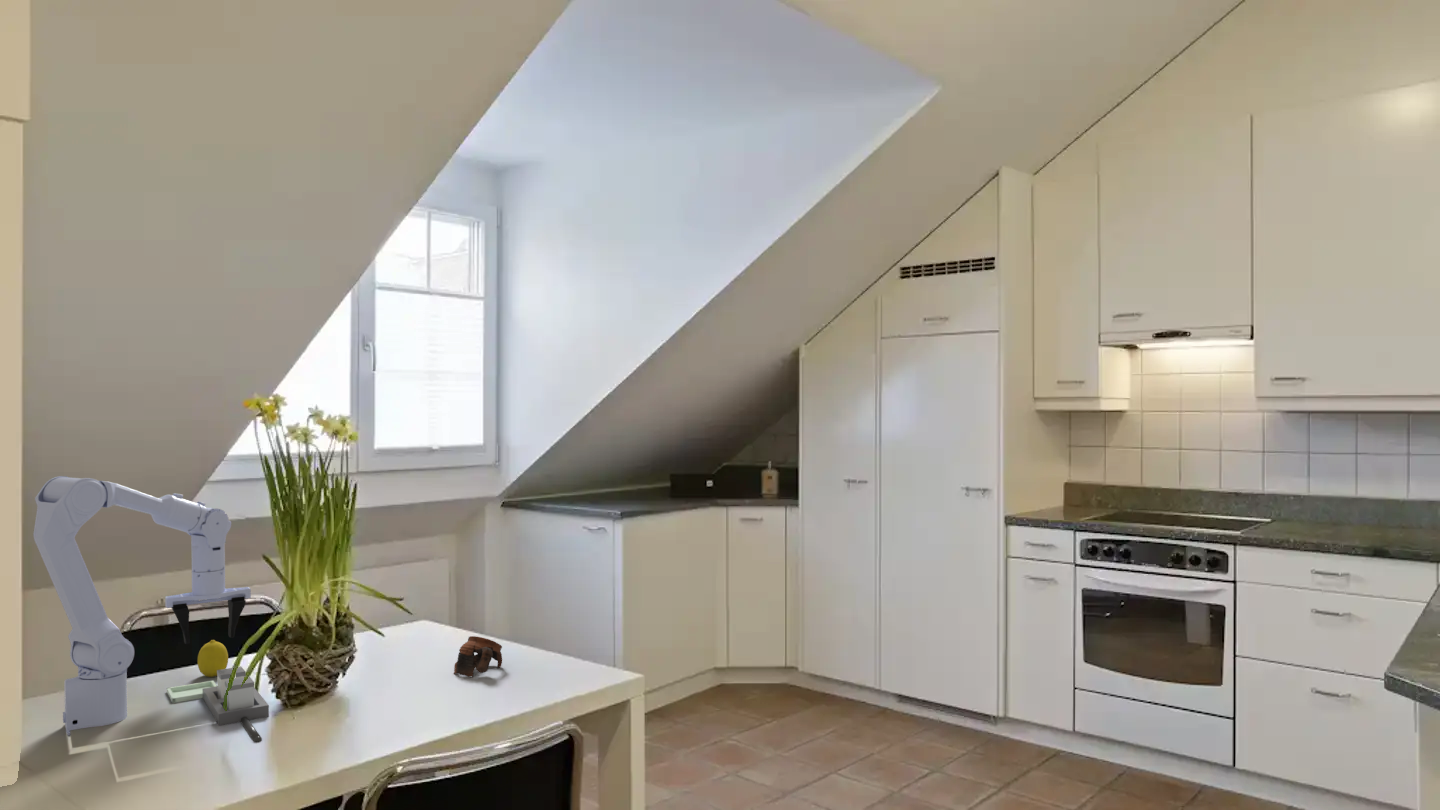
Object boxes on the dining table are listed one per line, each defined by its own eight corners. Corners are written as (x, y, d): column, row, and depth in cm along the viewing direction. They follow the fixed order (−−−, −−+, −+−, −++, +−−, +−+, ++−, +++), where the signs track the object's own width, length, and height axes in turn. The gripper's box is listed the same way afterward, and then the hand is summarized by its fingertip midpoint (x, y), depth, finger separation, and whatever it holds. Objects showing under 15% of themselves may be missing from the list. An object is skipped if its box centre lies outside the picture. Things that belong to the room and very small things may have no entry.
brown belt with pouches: (444, 673, 203) (458, 634, 206) (485, 687, 207) (498, 649, 210) (463, 671, 193) (478, 631, 197) (506, 686, 197) (519, 646, 201)
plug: (221, 707, 178) (220, 675, 178) (217, 702, 181) (217, 670, 181) (245, 703, 180) (245, 671, 180) (241, 698, 184) (241, 666, 184)
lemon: (219, 683, 195) (218, 643, 195) (192, 683, 195) (191, 643, 195) (233, 675, 200) (233, 636, 200) (207, 675, 200) (206, 636, 200)
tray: (172, 707, 180) (172, 698, 180) (166, 696, 187) (166, 687, 187) (220, 698, 185) (220, 690, 185) (213, 688, 191) (213, 680, 191)
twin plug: (229, 720, 171) (228, 686, 171) (225, 714, 175) (224, 680, 174) (254, 715, 174) (254, 682, 174) (250, 709, 177) (249, 676, 177)
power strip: (231, 750, 158) (231, 731, 158) (202, 701, 183) (202, 685, 183) (284, 739, 163) (284, 720, 163) (249, 693, 188) (248, 677, 188)
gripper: (245, 562, 195) (246, 630, 196) (162, 570, 187) (163, 641, 187) (252, 567, 190) (253, 637, 190) (167, 576, 181) (168, 649, 181)
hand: (209, 639), depth 188 cm, fingers open, 7 cm apart
